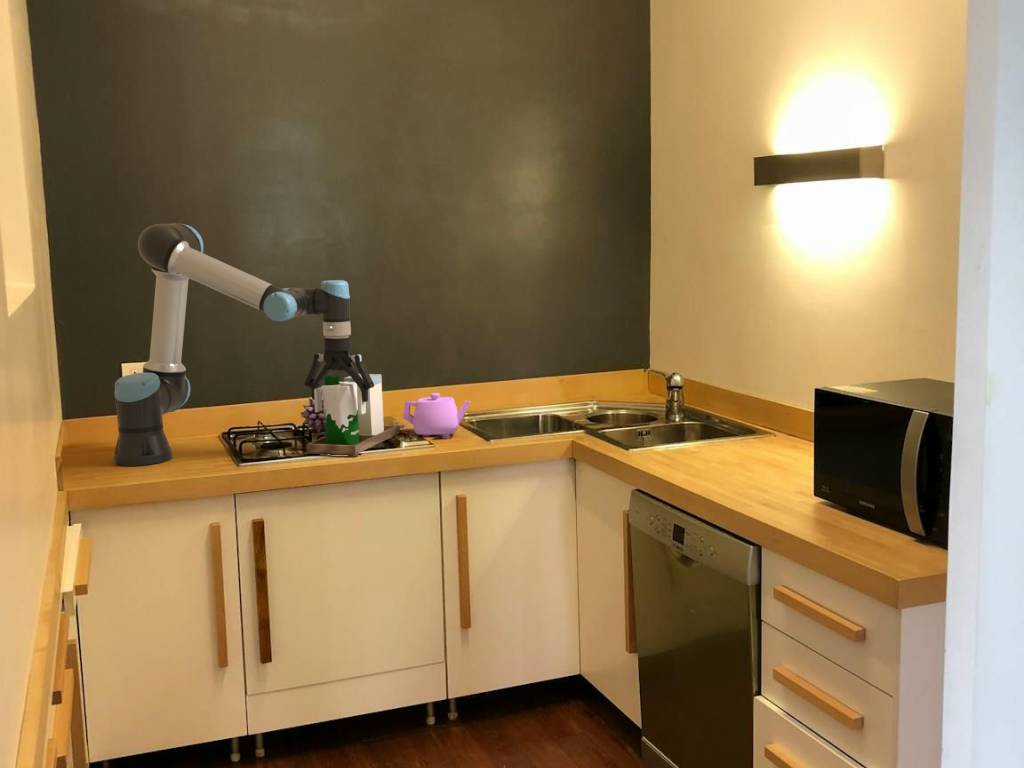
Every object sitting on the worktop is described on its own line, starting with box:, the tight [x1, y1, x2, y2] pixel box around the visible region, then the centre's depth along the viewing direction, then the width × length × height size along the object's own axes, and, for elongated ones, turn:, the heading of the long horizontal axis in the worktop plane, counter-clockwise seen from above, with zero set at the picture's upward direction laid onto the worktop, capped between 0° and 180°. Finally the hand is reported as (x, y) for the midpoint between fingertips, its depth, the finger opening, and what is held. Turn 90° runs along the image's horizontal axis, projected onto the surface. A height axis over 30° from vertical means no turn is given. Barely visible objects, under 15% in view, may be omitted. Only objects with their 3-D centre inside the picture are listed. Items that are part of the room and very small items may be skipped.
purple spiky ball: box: [300, 395, 325, 434], centre depth 320 cm, size 12×12×12 cm
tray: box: [305, 424, 401, 458], centre depth 303 cm, size 15×29×3 cm, turn 162°
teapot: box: [402, 392, 471, 440], centre depth 311 cm, size 20×12×13 cm, turn 88°
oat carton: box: [343, 373, 385, 435], centre depth 308 cm, size 8×8×18 cm
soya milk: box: [320, 375, 359, 445], centre depth 295 cm, size 9×9×20 cm
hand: (340, 412), depth 295 cm, fingers open, 13 cm apart
